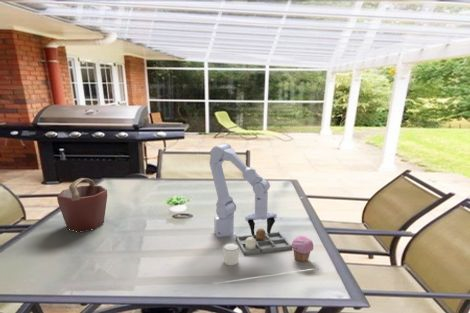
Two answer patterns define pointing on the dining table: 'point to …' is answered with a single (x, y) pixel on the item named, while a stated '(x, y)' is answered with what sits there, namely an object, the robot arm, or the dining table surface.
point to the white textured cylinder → (231, 253)
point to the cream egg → (250, 243)
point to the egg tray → (265, 243)
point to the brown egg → (260, 235)
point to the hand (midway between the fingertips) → (260, 233)
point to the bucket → (83, 205)
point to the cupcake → (302, 248)
